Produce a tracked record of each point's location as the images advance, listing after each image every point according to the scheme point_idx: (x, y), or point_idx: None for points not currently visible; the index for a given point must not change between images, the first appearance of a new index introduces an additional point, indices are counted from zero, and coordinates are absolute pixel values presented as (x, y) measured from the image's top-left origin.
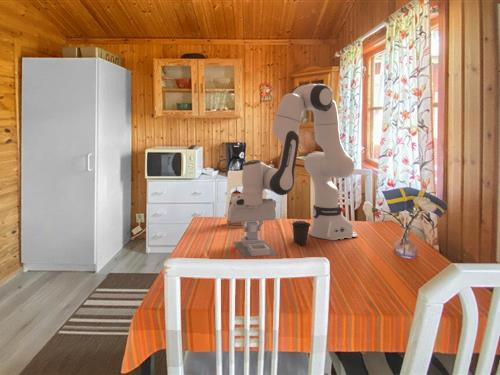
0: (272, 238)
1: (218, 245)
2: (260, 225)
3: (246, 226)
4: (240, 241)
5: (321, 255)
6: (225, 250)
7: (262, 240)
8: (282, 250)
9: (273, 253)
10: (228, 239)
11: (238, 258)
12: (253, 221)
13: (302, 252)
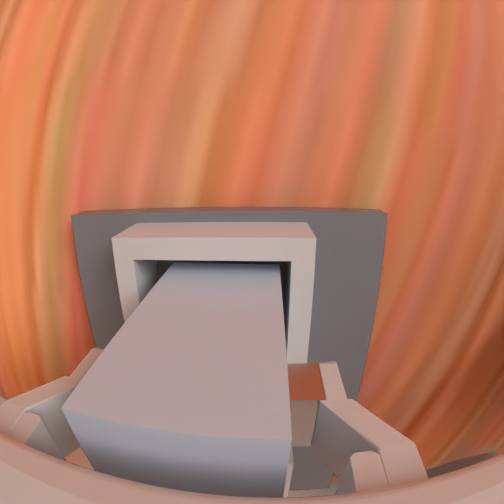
0: (477, 108)
1: (2, 230)
2: (339, 465)
3: (110, 357)
4: (133, 214)
5: (500, 440)
6: (46, 340)
7: (369, 217)
8: (412, 401)
9: (315, 476)
10: (72, 71)
11: None
12: (223, 466)
13: (474, 421)
